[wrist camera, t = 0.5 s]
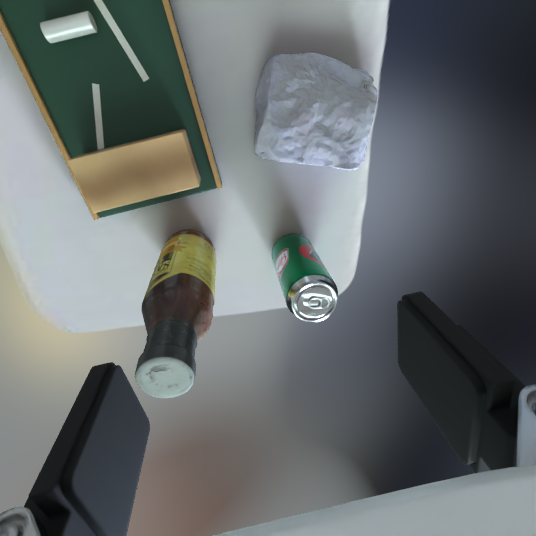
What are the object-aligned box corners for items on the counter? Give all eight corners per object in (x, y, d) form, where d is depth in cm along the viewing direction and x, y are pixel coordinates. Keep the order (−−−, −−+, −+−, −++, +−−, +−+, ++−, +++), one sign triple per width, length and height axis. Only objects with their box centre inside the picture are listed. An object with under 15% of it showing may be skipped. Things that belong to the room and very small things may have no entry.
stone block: (257, 57, 34) (249, 161, 36) (265, 38, 29) (255, 159, 31) (366, 75, 36) (352, 172, 38) (390, 61, 31) (372, 171, 34)
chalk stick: (38, 17, 27) (41, 33, 27) (86, 5, 27) (89, 21, 27) (50, 33, 29) (53, 47, 28) (96, 21, 29) (99, 36, 29)
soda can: (271, 232, 40) (289, 280, 30) (312, 231, 41) (344, 278, 30) (270, 269, 43) (286, 326, 32) (309, 268, 43) (338, 324, 33)
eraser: (83, 153, 33) (66, 160, 29) (186, 127, 33) (181, 131, 29) (105, 201, 35) (92, 213, 32) (201, 177, 35) (199, 186, 32)
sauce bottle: (169, 221, 38) (124, 326, 21) (222, 236, 40) (223, 345, 22) (158, 270, 41) (109, 401, 23) (208, 282, 42) (198, 413, 25)
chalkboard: (-58, -110, 25) (-75, -123, 24) (125, -155, 25) (119, -170, 24) (99, 215, 37) (94, 220, 36) (222, 184, 37) (222, 188, 36)
